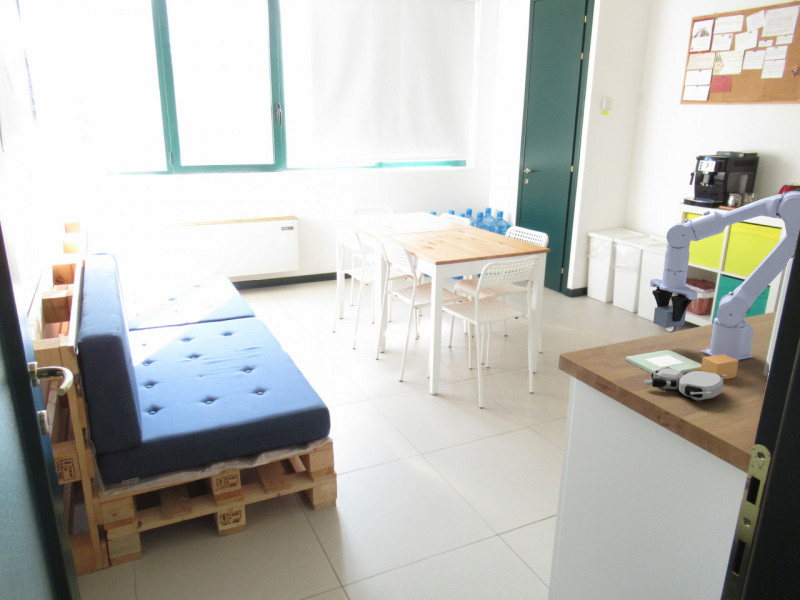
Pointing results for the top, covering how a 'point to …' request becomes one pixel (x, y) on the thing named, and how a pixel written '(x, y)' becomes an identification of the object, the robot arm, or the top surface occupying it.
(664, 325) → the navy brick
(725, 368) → the orange brick
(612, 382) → the top surface
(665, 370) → the robot toy
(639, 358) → the baseplate
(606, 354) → the top surface
